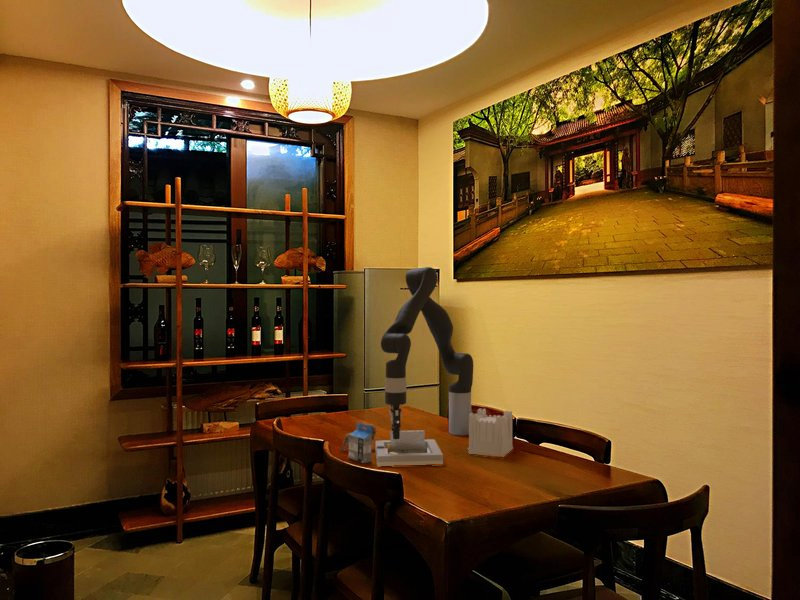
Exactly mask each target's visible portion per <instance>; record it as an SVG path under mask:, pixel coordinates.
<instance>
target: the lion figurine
mask: <svg viewBox="0 0 800 600" xmlns="http://www.w3.org/2000/svg"><path fill="white" fill-rule="evenodd" d="M368 425H369V426H371V431H372V441H373V440H375V437H376V433H377V428H376V425H374V424H368ZM365 429H366V430H367V428H365ZM351 433H352V432H348V433H346V435H344V437H343V440H342V446H341V449H340V451H339V452H346V450H347V449H346V446H347V445H349V434H351Z"/></svg>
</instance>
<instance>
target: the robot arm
mask: <svg viewBox="0 0 800 600" xmlns="http://www.w3.org/2000/svg"><path fill="white" fill-rule="evenodd" d="M437 283H438V274H437V271H436V270H435V268H434V267H431V266H424V267H417V268H411V269H408V270H407V271H406V274H405V284H406V286H407V288H408V290H409V292H410V294H411V297H410V298H409V299H408V300H407V301H406V302H404V304H403V305H402V306H401V307H400V309H399V310H398V312H397V315H396V317H395V319H394V322H392V324H391V325H390V326H389V327H388V329H387V330H386V331H385V332H384V333H383V335H382V337H381V339H380V340H381V341H380V347H381V350H382V351H383V352H384V353H386V354H396V355H397V356H396V358H395V359H391V360H388V361H386V364H385V383H384V403H385V404H386V405H389V406H390V408H389V418H390V423H391V431H393V439H399V438H400V431H401V430H400V429H401V426H402V425H401V423H402V408H401V407H400V406H402V405H406V404H407V378H406V377H407V376H406V374H407V371H406V370H407V369H406V367H407V361H408V357H409V354H410V351H411V346H412V342H411V338H410V336H409V335H408V334H410V333H412V331H413V329H414V326H415V324H416V321H417V320H418V317H419V315H420V312H421V313H422V316H423V317H424V320H425V322H426V324H427V328H428V329H429V332H430V334H431V335H432V337H433V340H434V342H435V344H436V347H437V349H438V351H439V354H440V357H441V361H442V364H443V366H444V368H445V370H446V372H447V373H448V374H449V375H452V376H453V375H454V376H458V379H457V381H456V382H453V383H451V384H449V386H448V433H449V435H453V436H469V414H471V413H473V410H472V386H473V383H474V382H473V381H474V359H473V356H472V355H471V354H470V353H468V352H467V353H465V352H456V351H455V349H454V348H453V345H452V341H451V340H452V337H453V332H454V325H453V322H452V320H451V318H450V316H449V313H448V312H447V311H446V309H445V308H444V307H443V306H441V305H440V304H439V303H437V302H436V300H434V299H433V298H431V295H432V293H433V292H434V291H435V289H436V287H437Z"/></svg>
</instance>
